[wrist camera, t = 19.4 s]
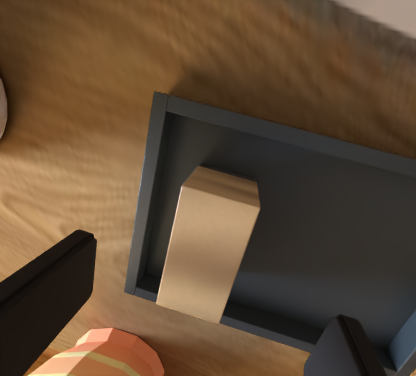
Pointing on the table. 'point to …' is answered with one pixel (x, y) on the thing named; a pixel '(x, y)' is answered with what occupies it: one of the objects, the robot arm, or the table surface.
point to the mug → (2, 109)
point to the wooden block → (208, 241)
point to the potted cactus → (104, 357)
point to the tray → (291, 226)
